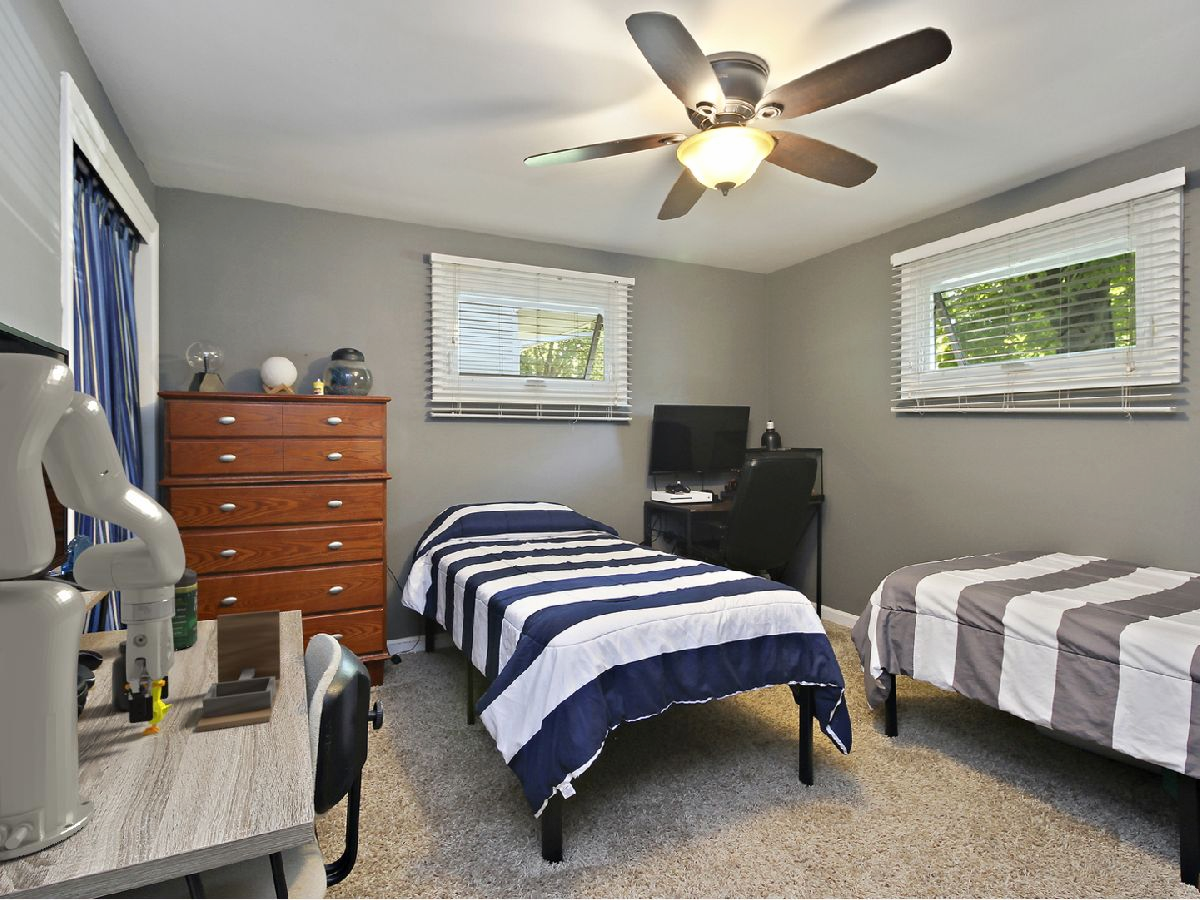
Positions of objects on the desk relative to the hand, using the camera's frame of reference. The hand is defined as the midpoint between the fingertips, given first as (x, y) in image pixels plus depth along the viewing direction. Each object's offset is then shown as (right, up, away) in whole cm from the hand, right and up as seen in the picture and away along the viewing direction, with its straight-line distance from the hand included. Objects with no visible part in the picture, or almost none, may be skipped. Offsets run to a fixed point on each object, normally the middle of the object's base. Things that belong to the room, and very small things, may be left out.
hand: (149, 710), depth 110 cm
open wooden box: (+10, -4, +11) cm, 15 cm away
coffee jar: (-26, -4, +48) cm, 55 cm away
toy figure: (0, -4, 0) cm, 4 cm away
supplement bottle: (-11, -4, +12) cm, 17 cm away
